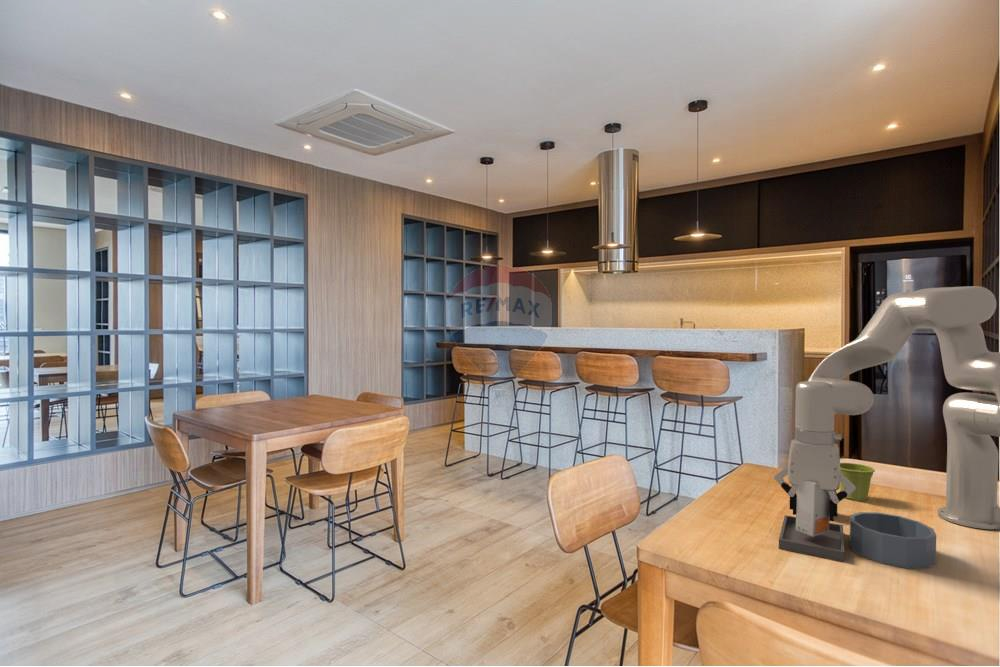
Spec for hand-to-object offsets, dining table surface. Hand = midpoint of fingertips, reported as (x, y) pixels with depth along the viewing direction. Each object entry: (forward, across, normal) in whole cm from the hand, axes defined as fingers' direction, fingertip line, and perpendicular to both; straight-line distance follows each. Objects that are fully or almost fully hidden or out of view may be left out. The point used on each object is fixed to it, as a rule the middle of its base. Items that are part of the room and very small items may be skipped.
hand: (812, 515), depth 120 cm
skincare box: (+4, 0, 0) cm, 4 cm away
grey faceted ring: (+6, -14, -2) cm, 16 cm away
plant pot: (+6, -9, -40) cm, 41 cm away
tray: (+6, 0, 0) cm, 6 cm away
